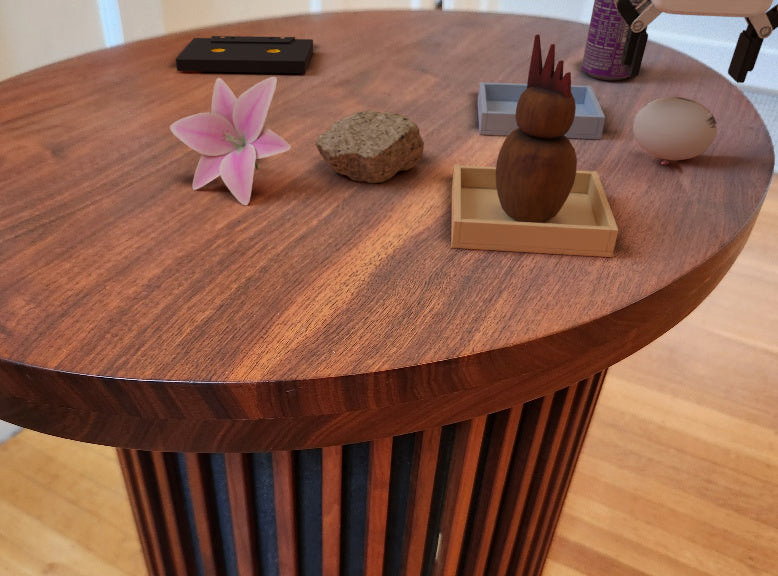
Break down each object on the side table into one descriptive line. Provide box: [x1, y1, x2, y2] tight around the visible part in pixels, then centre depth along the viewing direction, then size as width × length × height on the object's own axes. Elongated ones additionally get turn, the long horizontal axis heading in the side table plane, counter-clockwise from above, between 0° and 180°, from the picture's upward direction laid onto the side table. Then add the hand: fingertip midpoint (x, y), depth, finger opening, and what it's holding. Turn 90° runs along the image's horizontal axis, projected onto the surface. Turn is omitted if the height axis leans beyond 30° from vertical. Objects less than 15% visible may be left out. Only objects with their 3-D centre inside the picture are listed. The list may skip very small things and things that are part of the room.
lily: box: [169, 76, 292, 206], centre depth 75 cm, size 12×12×10 cm
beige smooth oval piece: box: [632, 95, 718, 166], centre depth 78 cm, size 8×6×7 cm
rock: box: [314, 110, 425, 184], centre depth 77 cm, size 10×8×8 cm
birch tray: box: [450, 164, 619, 258], centre depth 69 cm, size 13×12×2 cm
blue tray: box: [477, 81, 606, 140], centre depth 90 cm, size 13×11×2 cm
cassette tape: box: [175, 35, 314, 74], centre depth 111 cm, size 18×12×2 cm, turn 84°
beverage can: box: [581, 0, 648, 81], centre depth 101 cm, size 7×7×12 cm
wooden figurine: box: [495, 34, 578, 223], centre depth 65 cm, size 7×6×15 cm
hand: (682, 75), depth 74 cm, fingers open, 9 cm apart
